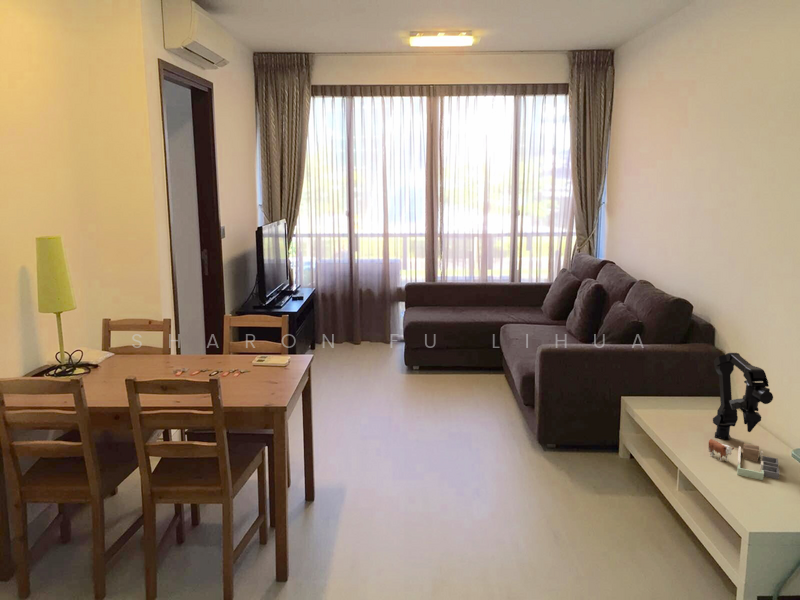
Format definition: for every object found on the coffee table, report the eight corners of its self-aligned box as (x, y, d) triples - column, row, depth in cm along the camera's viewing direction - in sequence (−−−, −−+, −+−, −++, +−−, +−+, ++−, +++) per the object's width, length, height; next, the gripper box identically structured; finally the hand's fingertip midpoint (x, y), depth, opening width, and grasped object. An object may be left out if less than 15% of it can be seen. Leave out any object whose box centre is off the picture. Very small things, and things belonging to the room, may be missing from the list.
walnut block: (742, 453, 290) (744, 443, 289) (757, 456, 288) (759, 446, 287) (742, 458, 285) (743, 447, 284) (757, 461, 282) (759, 451, 281)
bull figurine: (726, 466, 277) (729, 448, 275) (704, 453, 290) (706, 436, 288) (735, 465, 278) (737, 447, 276) (712, 452, 291) (714, 435, 289)
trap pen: (738, 451, 292) (739, 445, 291) (776, 459, 285) (777, 452, 284) (737, 474, 269) (738, 468, 268) (779, 483, 262) (780, 477, 261)
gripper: (729, 386, 296) (724, 417, 299) (735, 400, 279) (730, 433, 282) (756, 389, 292) (751, 421, 296) (763, 403, 275) (758, 437, 278)
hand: (747, 427), depth 288 cm, fingers open, 9 cm apart
